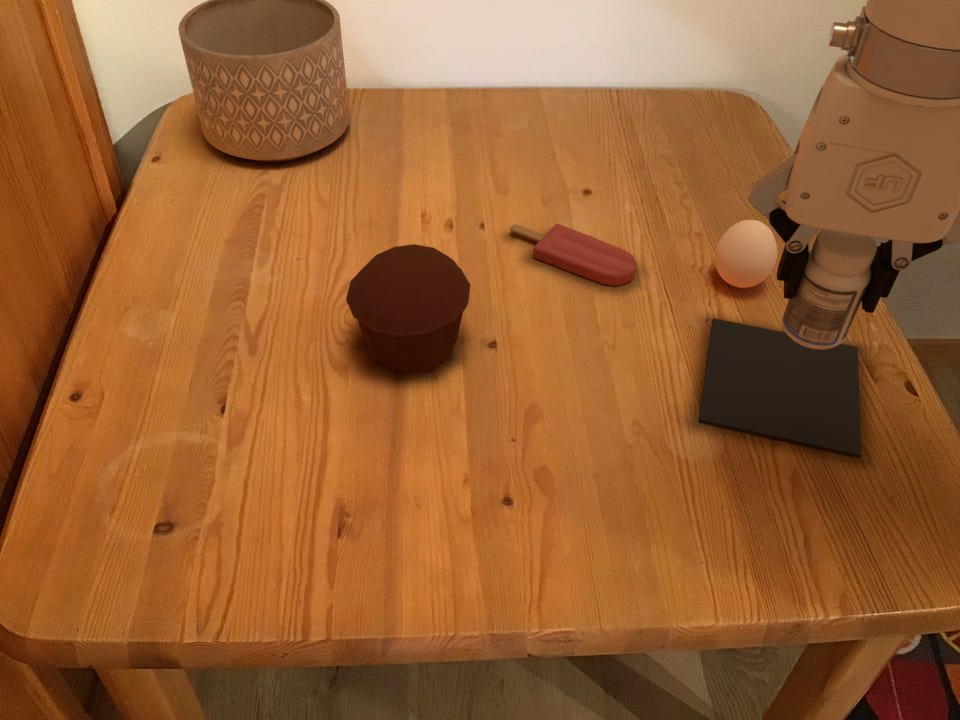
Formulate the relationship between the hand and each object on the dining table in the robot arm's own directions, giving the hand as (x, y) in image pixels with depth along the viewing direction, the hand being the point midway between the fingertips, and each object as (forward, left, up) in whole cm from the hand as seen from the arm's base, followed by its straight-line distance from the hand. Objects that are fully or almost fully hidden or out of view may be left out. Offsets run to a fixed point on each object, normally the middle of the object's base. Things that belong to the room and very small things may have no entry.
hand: (827, 291), depth 62 cm
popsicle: (+22, -21, -18) cm, 36 cm away
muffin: (+34, -3, -18) cm, 39 cm away
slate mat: (-1, -8, -18) cm, 20 cm away
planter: (+63, -35, -18) cm, 75 cm away
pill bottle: (0, 0, -4) cm, 4 cm away
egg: (+4, -22, -18) cm, 29 cm away
